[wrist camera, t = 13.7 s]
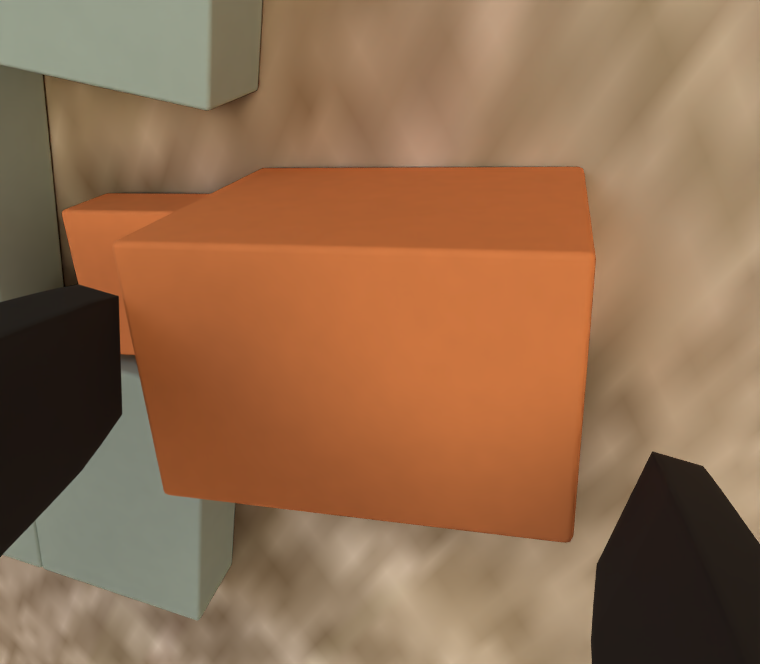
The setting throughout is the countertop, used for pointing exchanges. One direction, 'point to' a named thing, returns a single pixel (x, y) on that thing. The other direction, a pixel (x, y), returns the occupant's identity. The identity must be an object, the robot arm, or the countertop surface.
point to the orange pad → (360, 339)
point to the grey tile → (44, 272)
